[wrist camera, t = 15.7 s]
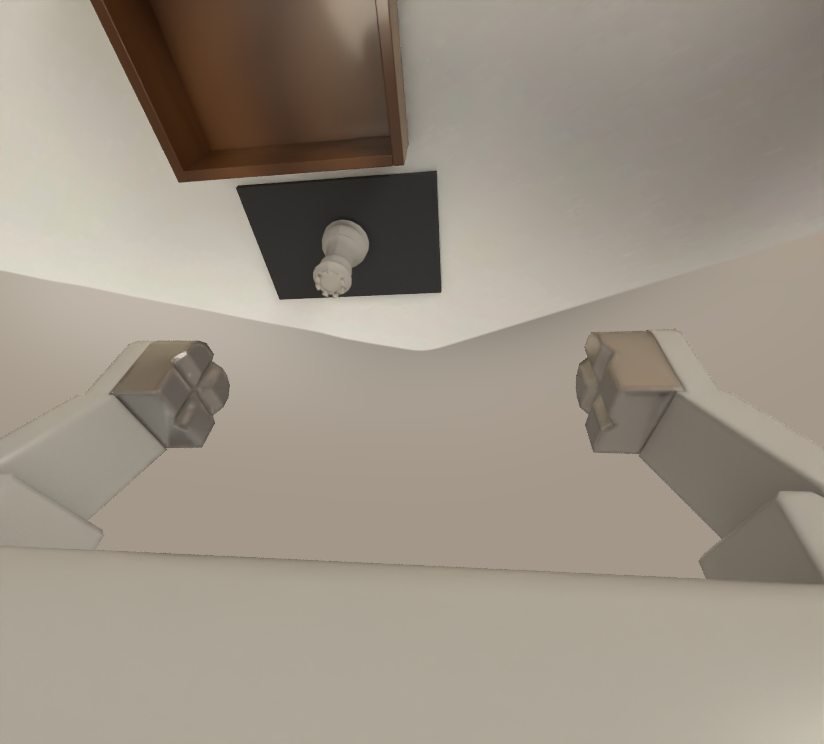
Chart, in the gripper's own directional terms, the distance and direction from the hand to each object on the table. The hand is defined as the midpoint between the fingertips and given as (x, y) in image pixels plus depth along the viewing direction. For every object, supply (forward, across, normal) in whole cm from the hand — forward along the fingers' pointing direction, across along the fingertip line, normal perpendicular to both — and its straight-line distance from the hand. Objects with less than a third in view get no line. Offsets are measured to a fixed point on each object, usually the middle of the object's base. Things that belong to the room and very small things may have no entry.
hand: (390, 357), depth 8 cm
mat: (+29, +9, +12) cm, 33 cm away
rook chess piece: (+29, +9, +11) cm, 32 cm away
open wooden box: (+29, +11, -4) cm, 32 cm away
